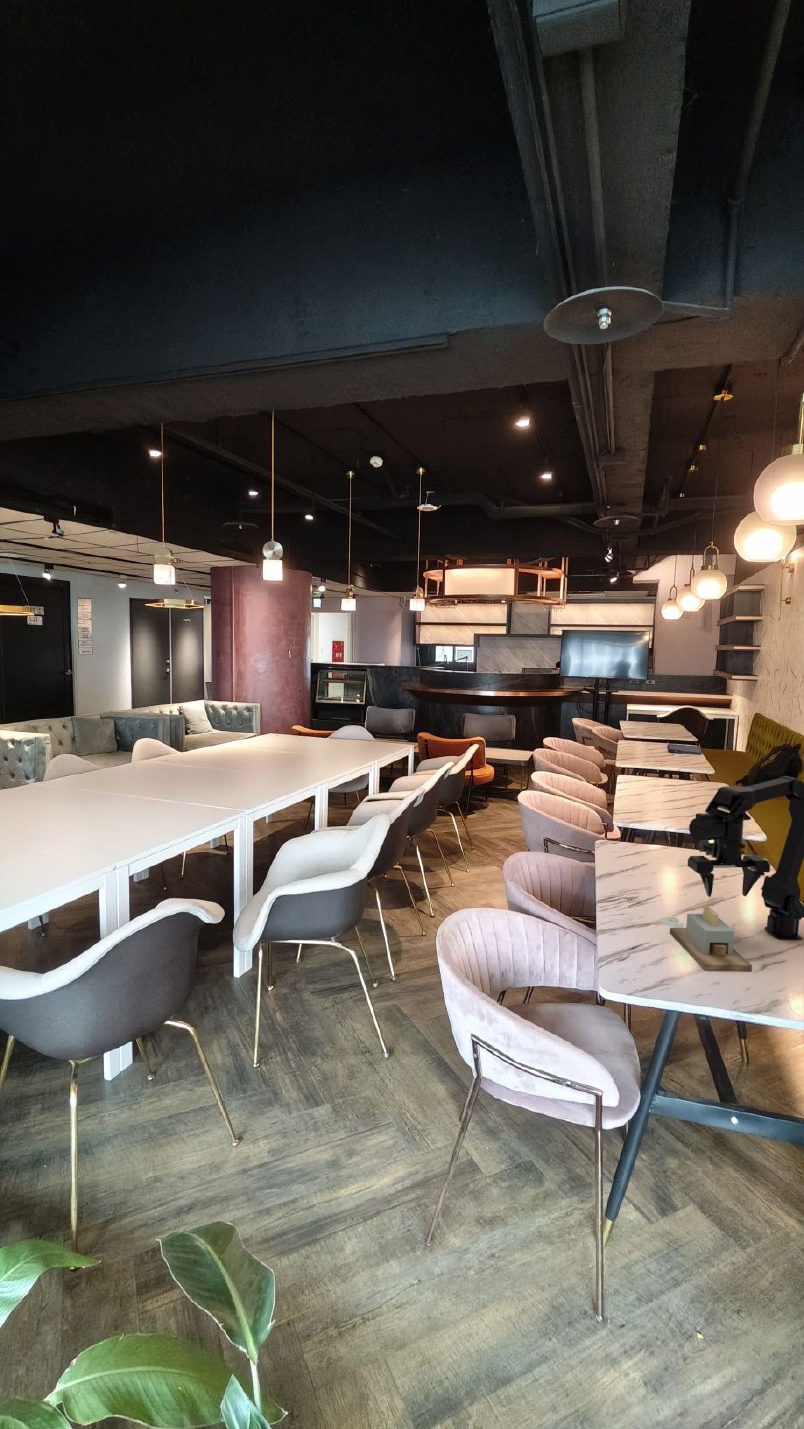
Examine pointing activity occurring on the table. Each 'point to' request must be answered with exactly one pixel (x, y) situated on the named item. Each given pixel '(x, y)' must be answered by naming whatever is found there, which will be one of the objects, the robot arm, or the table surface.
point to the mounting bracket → (672, 922)
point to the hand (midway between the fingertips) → (726, 896)
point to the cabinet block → (709, 931)
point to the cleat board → (712, 954)
